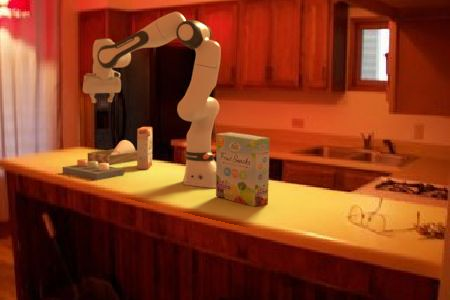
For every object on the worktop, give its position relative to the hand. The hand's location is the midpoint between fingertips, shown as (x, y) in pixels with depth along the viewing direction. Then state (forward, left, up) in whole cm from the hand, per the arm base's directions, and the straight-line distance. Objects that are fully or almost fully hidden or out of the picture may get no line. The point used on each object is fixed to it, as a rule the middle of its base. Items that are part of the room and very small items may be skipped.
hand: (102, 102), depth 237 cm
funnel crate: (+25, -29, -35) cm, 51 cm away
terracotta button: (+11, +4, -33) cm, 35 cm away
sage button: (+3, +4, -33) cm, 34 cm away
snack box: (-82, 0, -35) cm, 90 cm away
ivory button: (-5, +4, -33) cm, 34 cm away
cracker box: (-2, -26, -35) cm, 44 cm away
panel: (+3, +4, -35) cm, 35 cm away
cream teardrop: (+25, -30, -35) cm, 52 cm away
